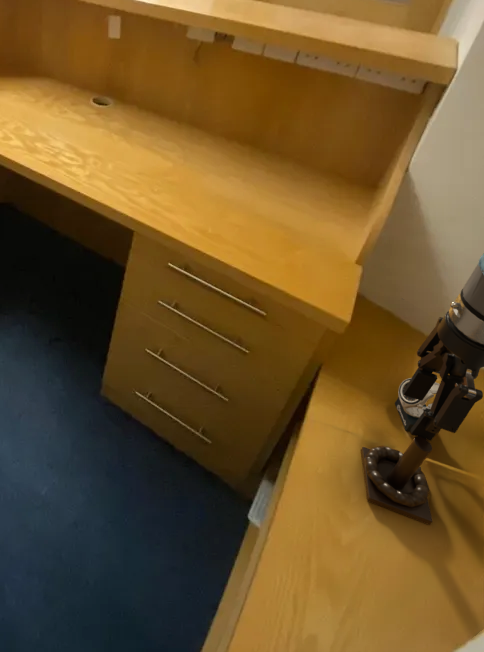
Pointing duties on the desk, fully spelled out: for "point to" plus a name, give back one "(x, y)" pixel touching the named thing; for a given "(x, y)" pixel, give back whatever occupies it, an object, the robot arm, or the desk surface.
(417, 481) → the brown beaded bracelet ring
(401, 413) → the watch
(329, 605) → the desk surface
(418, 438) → the stand
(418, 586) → the desk surface
